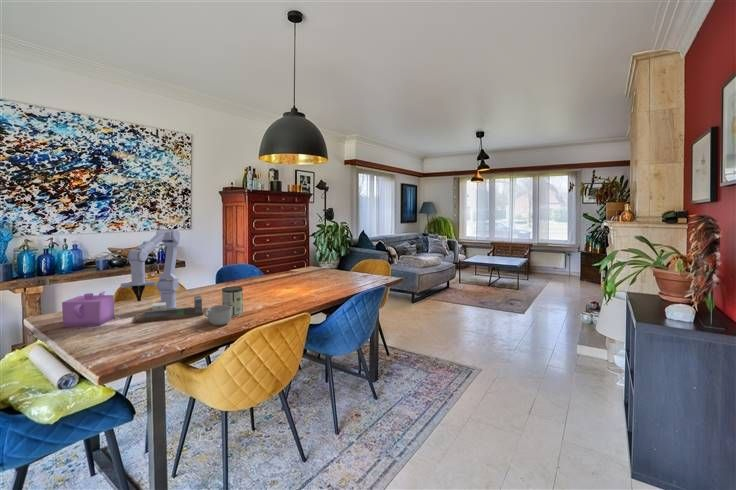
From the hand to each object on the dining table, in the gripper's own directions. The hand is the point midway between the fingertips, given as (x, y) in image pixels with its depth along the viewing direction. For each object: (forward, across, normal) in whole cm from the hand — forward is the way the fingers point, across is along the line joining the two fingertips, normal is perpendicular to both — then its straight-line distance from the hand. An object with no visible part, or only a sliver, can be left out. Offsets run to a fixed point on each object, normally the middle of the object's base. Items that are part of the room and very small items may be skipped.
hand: (139, 300), depth 178 cm
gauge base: (+9, +14, 0) cm, 16 cm away
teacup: (+10, +34, -23) cm, 42 cm away
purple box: (+10, -20, +5) cm, 23 cm away
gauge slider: (+8, +8, -1) cm, 11 cm away
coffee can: (+10, +42, -10) cm, 45 cm away
